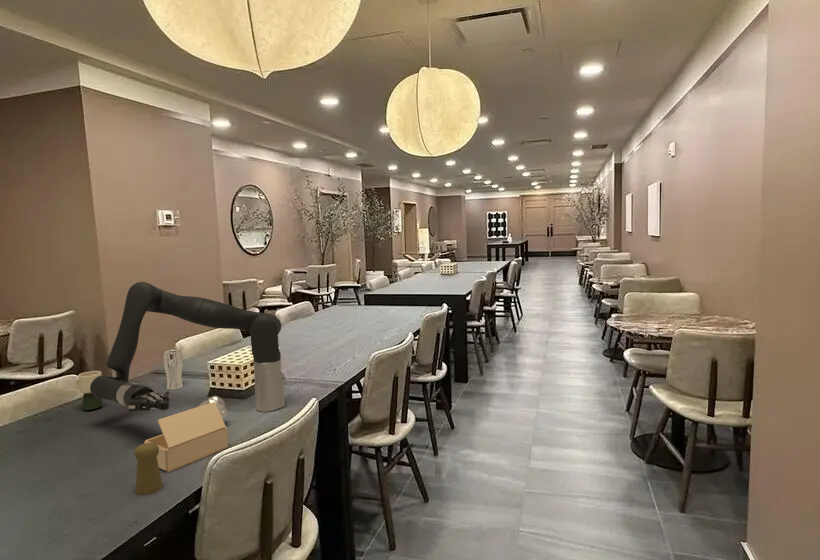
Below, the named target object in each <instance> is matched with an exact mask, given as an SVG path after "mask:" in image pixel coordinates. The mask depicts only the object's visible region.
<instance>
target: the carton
mask: <svg viewBox="0 0 820 560" xmlns="http://www.w3.org/2000/svg"><path fill="white" fill-rule="evenodd" d="M228 437H229V436H228V427H227V426H226V427H224V428H221V429H218V430H216V431H213V432H210V433H208V434H205V435H202V436H200V437H197V438H194V439H192V440H189V441H186V442H184V443H181V444H178V445H176V446H173V447H170V448H168V445H167V443H166V440H165V438H164V435H163V433H162V434H160V435H157V436H154V437H150V438H148V439H146V440H144V442H143V444H145V443H155V444H157V446H158V448H159V453H158V455H157V461H158V465H159V470H163V471H165V472H167V473H170V472H173V471H176V470H177V469H180V468H182V467H185V466H187V465H190V464H191V463H195V462H196V461H199V460H202V459H204V458H206V457H209V456H211V455H213V454H215V453H219V452H220V451H224V450H226V449H228V448H229V439H228Z"/></svg>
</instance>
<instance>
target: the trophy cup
mask: <svg viewBox="0 0 820 560" xmlns="http://www.w3.org/2000/svg"><path fill="white" fill-rule="evenodd" d="M99 376H103V375H102V371H100V370H91V371H85V372H81V373H79V374H78V376H77V377H78V378H75V387H76V388H79V389H78V390H79V393H81V394H83V396H82V401H81V402H82V403H81V404H82V408H81V409H82V410H84V411H90V410H95V409H98V408H101V407H103V406H104V405H103V401H102V400H103V399H101V398H97V397H95V396H93V395H92V393H91V391H90V385H91V383H92V381H93V380H94V379H95V378H97V377H99Z"/></svg>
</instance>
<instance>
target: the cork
mask: <svg viewBox="0 0 820 560" xmlns="http://www.w3.org/2000/svg"><path fill="white" fill-rule="evenodd" d="M158 453H159V448H158V446H157V444H155V443H145V444H144V443H142V444H139V445H138V446H137V447H136V448H135V449H134V457H135V458H134V459H135V460H136V461H137V465H136V477H135V488H134V491H135V492H134V493H135V494H136V495H141V496H143V495H150V494H154V493H156V492H159V491H160V490H161V489H162V488H163V487H164V484H163V480H162V479H163V478H162V475H161V471H160V470H161V469H160V468H159V465H158V461H157V455H158Z"/></svg>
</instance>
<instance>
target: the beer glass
mask: <svg viewBox="0 0 820 560" xmlns="http://www.w3.org/2000/svg"><path fill="white" fill-rule="evenodd" d="M182 351H183V350H182V349H168V350H165V351H163V367H164V371H165V375H166V381H167V382H166V390H169V389H170V391H171V390H173V391H174V390H178V389H182V388H184V384H183V380H182V375H183V367H184V366H183V365H184V364H183V363H184V359H183V352H182Z"/></svg>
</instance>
